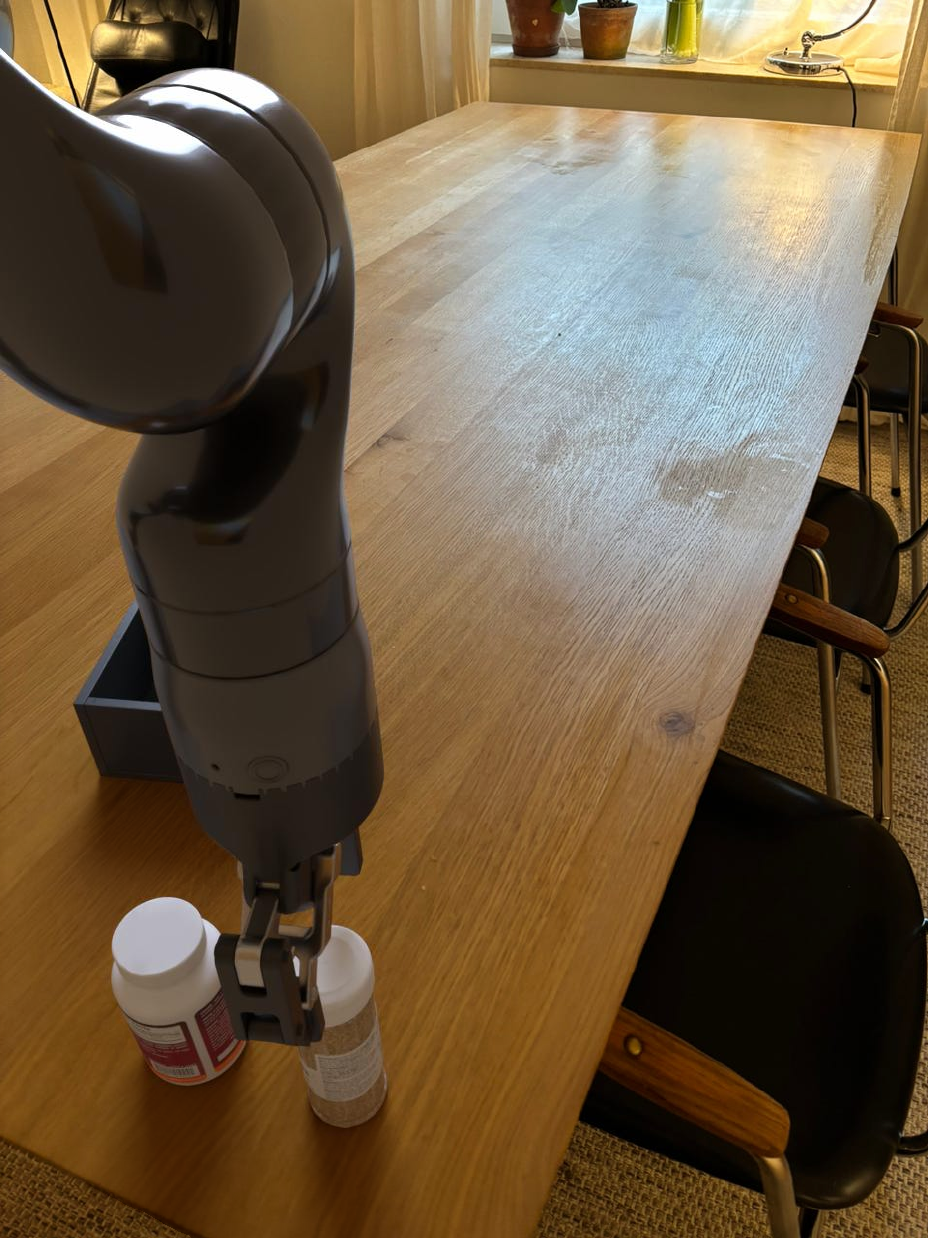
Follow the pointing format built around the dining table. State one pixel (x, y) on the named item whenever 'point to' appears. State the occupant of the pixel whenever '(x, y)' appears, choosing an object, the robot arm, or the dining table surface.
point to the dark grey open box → (126, 709)
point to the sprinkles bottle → (345, 1035)
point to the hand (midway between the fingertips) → (321, 946)
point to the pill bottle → (173, 991)
